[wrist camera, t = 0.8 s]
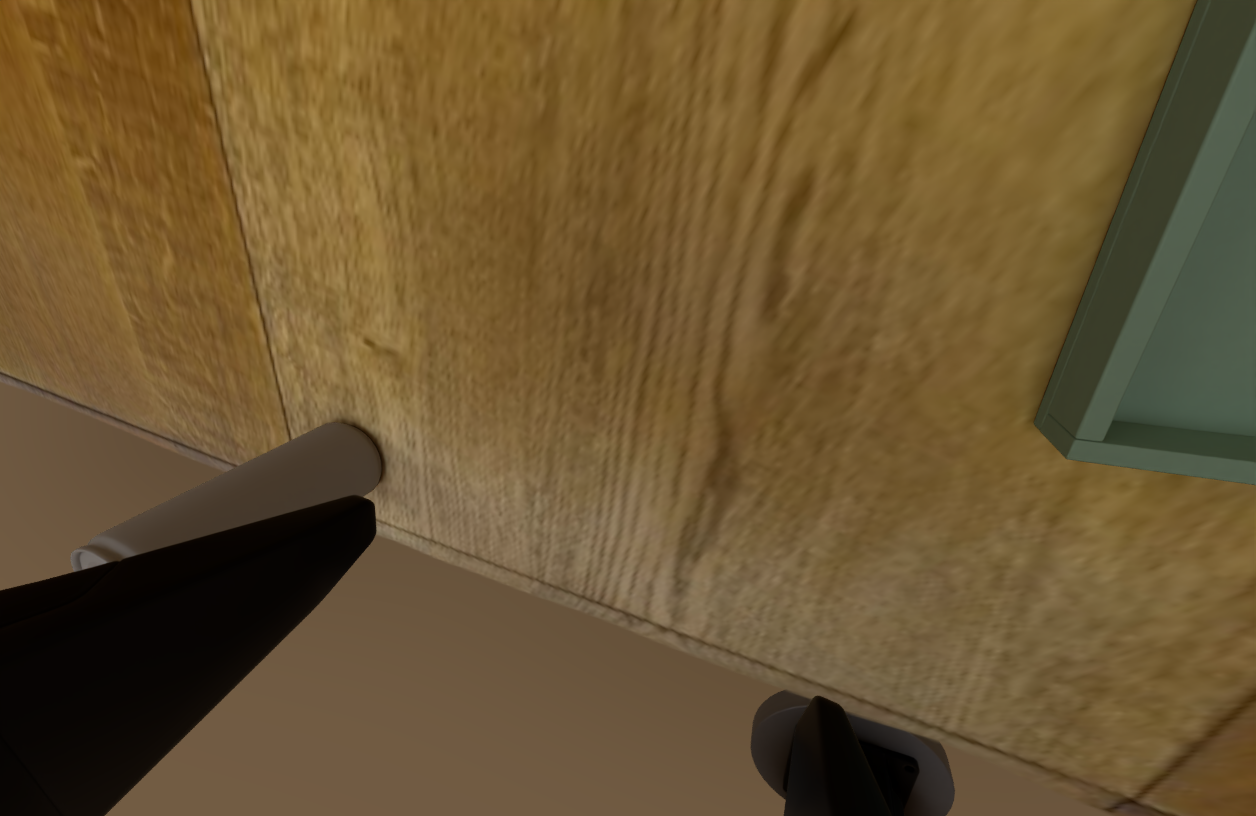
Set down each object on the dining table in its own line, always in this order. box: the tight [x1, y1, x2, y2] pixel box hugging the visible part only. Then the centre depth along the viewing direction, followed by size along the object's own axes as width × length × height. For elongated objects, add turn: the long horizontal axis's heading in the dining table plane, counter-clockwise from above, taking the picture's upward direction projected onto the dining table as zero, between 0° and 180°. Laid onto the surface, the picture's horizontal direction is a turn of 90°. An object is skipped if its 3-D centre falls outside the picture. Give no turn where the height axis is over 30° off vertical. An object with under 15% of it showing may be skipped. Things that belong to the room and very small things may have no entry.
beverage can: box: [71, 422, 382, 572], centre depth 25 cm, size 5×5×12 cm
